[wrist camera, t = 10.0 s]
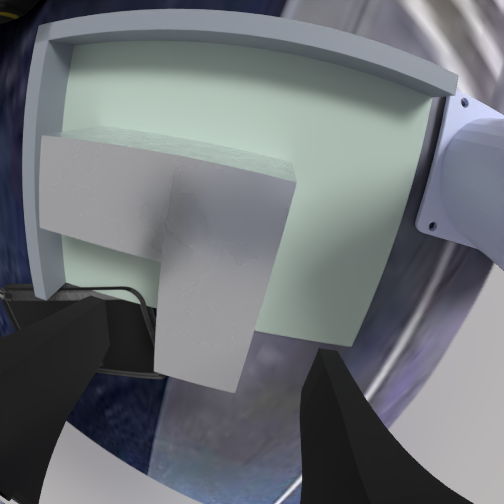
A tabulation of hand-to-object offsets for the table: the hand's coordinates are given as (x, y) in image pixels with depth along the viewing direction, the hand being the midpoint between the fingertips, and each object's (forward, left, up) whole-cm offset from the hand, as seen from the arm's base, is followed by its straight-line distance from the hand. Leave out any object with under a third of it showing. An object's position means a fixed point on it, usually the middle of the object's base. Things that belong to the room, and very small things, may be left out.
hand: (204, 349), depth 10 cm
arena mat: (+2, -3, -8) cm, 9 cm away
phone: (+11, +9, -9) cm, 17 cm away
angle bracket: (+3, -1, -7) cm, 8 cm away
